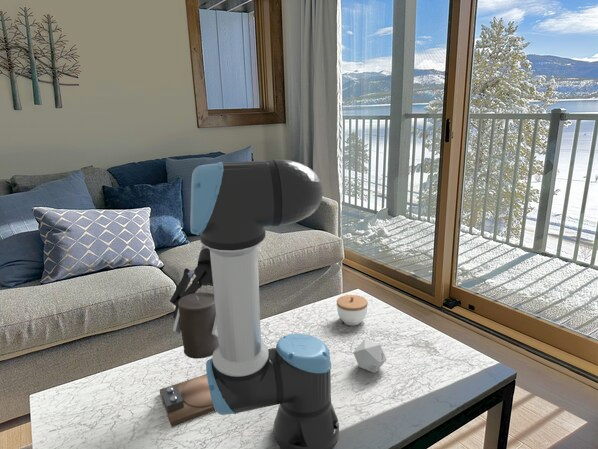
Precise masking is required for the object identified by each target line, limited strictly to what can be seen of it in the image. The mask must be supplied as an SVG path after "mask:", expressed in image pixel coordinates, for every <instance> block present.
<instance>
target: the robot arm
mask: <svg viewBox="0 0 598 449" xmlns="http://www.w3.org/2000/svg"><path fill="white" fill-rule="evenodd" d="M191 174H192V175H191V183H190V184H191V185H190V186H191V187H190V214H189V215H190V217H189V218H190V224H189V225H190V233H191V234H192V235H196V236H199V241H200V243H201V246H200V249H201V250H200V252H199V256H198V259H197V264H196V265H197V266H196V267H195V268H194V269H189V268H187V267H186V268H184V270H183V275H182V278H181V279H180V281H179V283H178V285H177V287H176V288H175V290H174V292H173V294H172V296H171V298H170V300H169V303H171V304H172V305H174V306H175V308H174V313H173V319H174V324H173V328H172V332H173V333H175V334H177V335H180V334H181V324H180V316H179V306H178V302H179V300H180V299H181V298H182V297H185V296H187V295H190V294H193V293H197V291H198V290H199V289H201V288H202V286H210V287H213V294H214V300H215V311H216V316H215V321H214V326H213V330H212V335H214V336H215V337H218V343H219V345H218V346H217V347H216V348H215V350H214V352H213V355H212V356H211V358H209V359H208V360H206V363H205V369H206V374H207V380H208V385H209V389H210V395H211V399H212V403H213V406H214V408H215V410H216V411H215V413H218V415H222V416H227V415H236V414H240V413H245V412H248V411H249V412H250V411H253V410H258V409H263V408H267V407H274V406H277V405H278V409H277V412H276V416H275V419H274V420H273V421H274V422H273V437H274V441H275V443H276V444H277V445H278V447H279V448H280V449H332V448H333V447H334V446H335V445H336V443H337V442H338V439H339V436H340V435H339V434H340V423H339V418H338V416H337V413H336V410H335V408H334V406H333V404H332V382H331V380H332V378H331V377H332V376H331V372H332V370H331V369H332V362H331V356H330V354H331V353H330V349H329V347H328V345H327V344H326V343H325V342H324V341H323V340H322V339H320V338H318V337H315V336H313V335H311V334H307V333H306V334H305V333H290V334H286V335H284V336H283V337H281V338H279V339H278V340H277V343H276V346H275V347H272V348H268V345H266V343H265V342H264V341H263V340H262V339H261V338H262V337H261V336H262V335H261V331H262V330H261V312H260V311H261V308H260V284H259V256H258V247H259V246H260V245H261V244H263V242H264V241H265V240H266V228H271V227H279V226H286V225H287V226H288V225H292V224H294V223H297V222H300V221H303V220H304V219H307V218H308V217H310V216H312V214H314V213H315V212H316V210H318V209H319V206H321V203H322V200H323V196H324V194H323V193H324V189H323V185H322V184H323V183H322V181H321V180H320V178H319V176H318V175H317V173H316V172H315V171H314V170H313V169H312V168H310V167H308V166H307V165H306V164H303V163H301V162H298V161H293V160H290V159H280V158H279V159H278V158H277V159H276V158H275V159H268V160H264V159H263V160H253V161H252V160H249V161H248V160H247V161H228V162H227V161H226V162H225V161H224V162H223V161H218V162H216V163H209V164H202V165H198V166H196V167H195V168H194V170H193V171H192V173H191ZM194 276H195V277H194ZM193 277H194V279H193V280H192V282H191V279H192V278H193ZM190 283H191V284H190ZM189 284H190V285H189Z"/></svg>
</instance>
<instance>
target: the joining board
mask: <svg viewBox="0 0 598 449" xmlns="http://www.w3.org/2000/svg"><path fill="white" fill-rule="evenodd" d="M176 385H177V387H178V389H179V392H180V394H181V396H182V399H183V403H184V408H181V409H178V410H175V411H173V412H170V413H168V412H167V410H166V407H165V404H164V401H163V398H162V393H161V390H164V389H167V388H168V387H170V386H172V387H173V386H176ZM159 395H160V397H161V401H162V404H163V407H164V410H165V413H166V415H167V418H168V421H169V424H170V426H171V428H173V427H176V426H179V425H182V424H184V423H187V422H189V421H192V420H195V419H197V418H200V417H203V416H205V415H207V414H211V413H213V412H216V410H215V408H214V406H213V403H212V399H211V395H210V389H209V385H208V380H207V373H205V374H203V375H199V376H196V377H194V378H190V379H187V380H185V381H181V382H179V383H175V384H173V385H169V386H166V387H163V388H160V389H159Z"/></svg>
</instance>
